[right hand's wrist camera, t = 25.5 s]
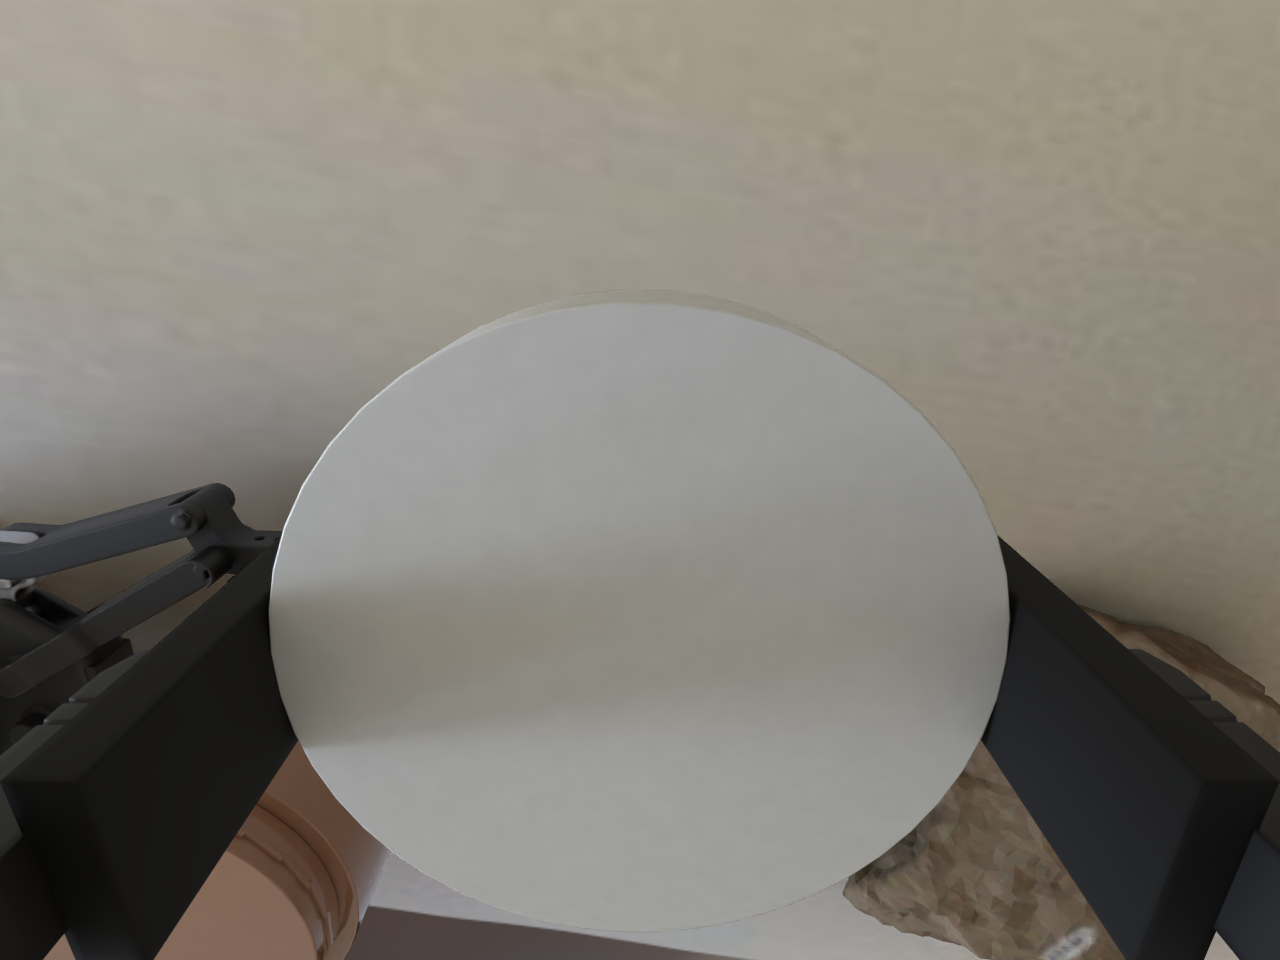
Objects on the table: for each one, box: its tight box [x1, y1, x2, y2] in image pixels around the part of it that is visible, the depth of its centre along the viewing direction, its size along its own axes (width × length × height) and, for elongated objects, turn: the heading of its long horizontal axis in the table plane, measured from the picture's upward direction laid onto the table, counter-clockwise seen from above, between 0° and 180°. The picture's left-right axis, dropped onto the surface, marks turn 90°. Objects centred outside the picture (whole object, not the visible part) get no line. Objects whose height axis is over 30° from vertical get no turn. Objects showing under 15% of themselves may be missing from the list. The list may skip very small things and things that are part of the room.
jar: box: [43, 740, 391, 960], centre depth 27 cm, size 10×10×17 cm
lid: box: [269, 290, 1010, 932], centre depth 11 cm, size 11×11×2 cm
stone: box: [843, 605, 1280, 960], centre depth 35 cm, size 21×15×6 cm
